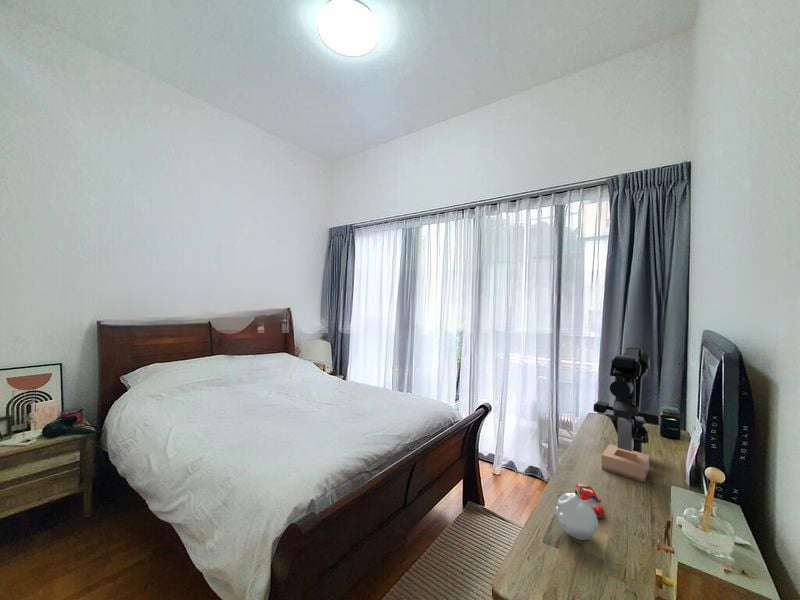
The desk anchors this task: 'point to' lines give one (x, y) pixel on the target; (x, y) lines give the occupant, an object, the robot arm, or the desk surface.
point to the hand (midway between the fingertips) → (625, 436)
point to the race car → (590, 499)
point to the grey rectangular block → (625, 434)
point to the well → (626, 463)
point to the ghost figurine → (576, 516)
